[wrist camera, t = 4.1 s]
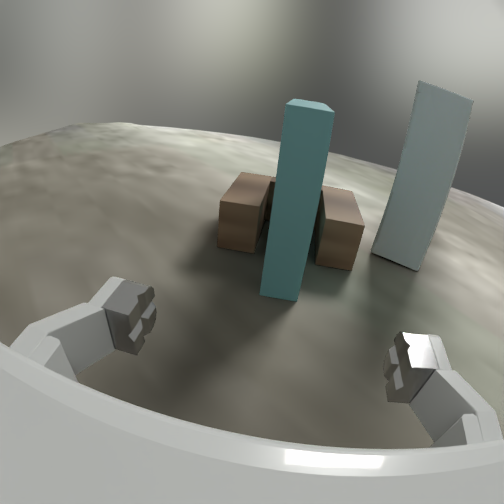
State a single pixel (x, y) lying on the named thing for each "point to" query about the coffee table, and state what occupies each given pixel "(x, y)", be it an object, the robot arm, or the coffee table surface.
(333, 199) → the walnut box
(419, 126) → the skincare box
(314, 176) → the teal rectangular block
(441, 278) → the coffee table surface
